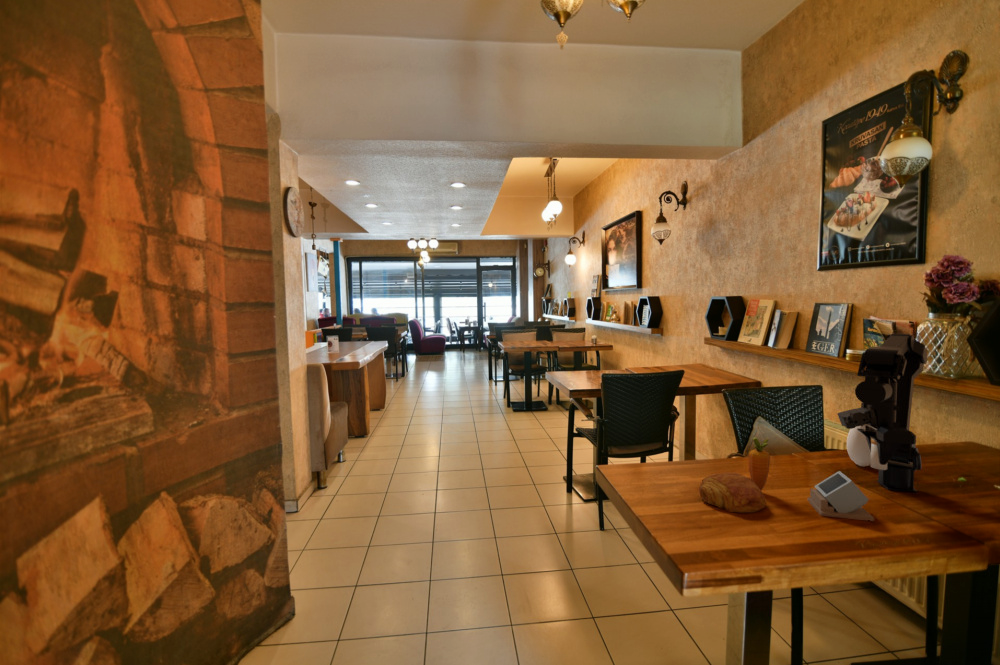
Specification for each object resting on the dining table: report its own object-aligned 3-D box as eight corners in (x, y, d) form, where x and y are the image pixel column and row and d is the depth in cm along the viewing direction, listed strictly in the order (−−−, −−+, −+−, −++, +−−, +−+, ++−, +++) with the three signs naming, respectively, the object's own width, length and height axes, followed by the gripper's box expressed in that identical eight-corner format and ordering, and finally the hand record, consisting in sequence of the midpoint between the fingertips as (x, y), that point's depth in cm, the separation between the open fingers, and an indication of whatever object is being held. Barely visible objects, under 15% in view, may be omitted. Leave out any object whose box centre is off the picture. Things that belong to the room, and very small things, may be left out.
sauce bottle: (881, 471, 138) (883, 412, 137) (849, 467, 141) (851, 410, 140) (873, 463, 145) (875, 407, 144) (843, 460, 148) (844, 405, 147)
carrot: (768, 490, 124) (769, 435, 123) (770, 497, 120) (771, 440, 119) (747, 487, 126) (748, 433, 126) (748, 494, 122) (749, 438, 121)
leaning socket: (856, 505, 114) (857, 471, 114) (873, 521, 106) (875, 484, 105) (807, 500, 117) (808, 467, 117) (820, 515, 109) (821, 479, 108)
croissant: (691, 500, 123) (687, 471, 123) (745, 490, 125) (742, 461, 124) (721, 524, 109) (717, 491, 109) (782, 512, 110) (778, 479, 110)
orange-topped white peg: (883, 466, 114) (884, 438, 114) (890, 470, 111) (891, 442, 111) (867, 464, 115) (868, 437, 115) (874, 469, 112) (875, 441, 112)
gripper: (827, 391, 123) (826, 448, 124) (859, 405, 106) (857, 471, 106) (877, 393, 120) (875, 452, 121) (918, 408, 102) (916, 476, 103)
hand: (879, 462), depth 113 cm, fingers closed on orange-topped white peg, 3 cm apart
